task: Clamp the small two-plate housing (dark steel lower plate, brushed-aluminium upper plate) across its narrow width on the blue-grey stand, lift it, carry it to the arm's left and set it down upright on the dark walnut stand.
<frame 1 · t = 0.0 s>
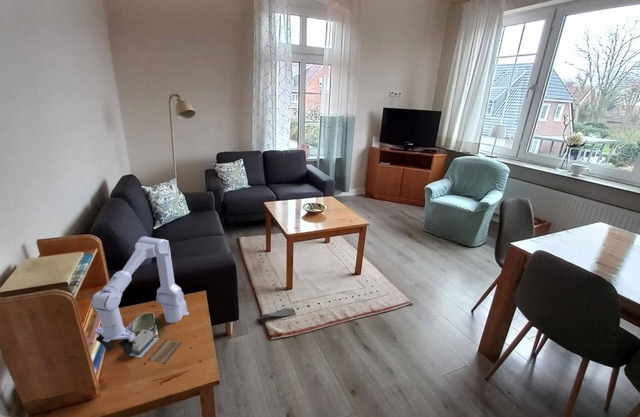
hand: (120, 351, 110), 10 cm above the table, fingers open, 7 cm apart
stone block: (138, 331, 133), on the table
bluegrey stand: (143, 349, 124), on the table
walnut stand: (166, 354, 122), on the table
housing: (142, 346, 123), point 1 cm above the table, touching bluegrey stand
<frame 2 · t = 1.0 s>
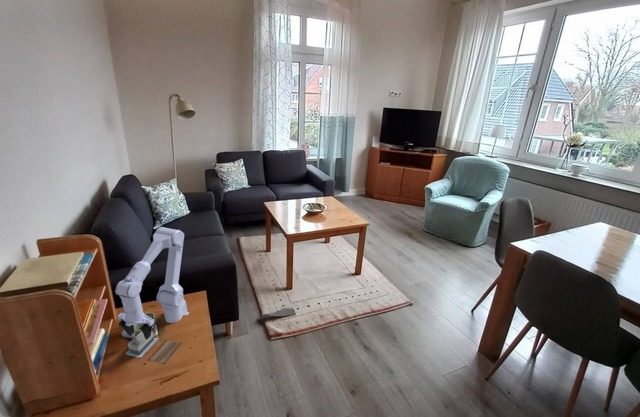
hand: (139, 335, 121), 7 cm above the table, fingers open, 7 cm apart
nothing on the table moved.
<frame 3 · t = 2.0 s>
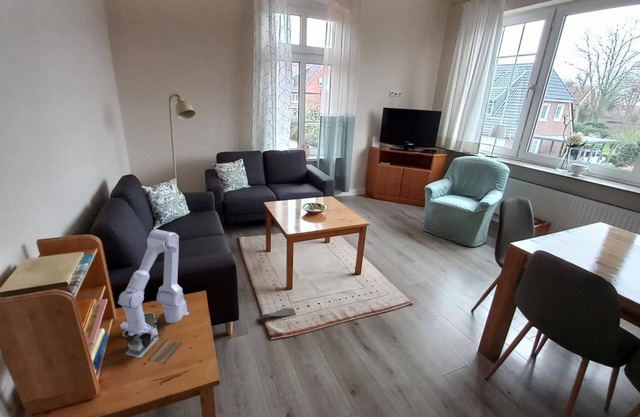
hand: (142, 344, 123), 2 cm above the table, fingers closed on housing, 4 cm apart
housing: (142, 346, 123), point 1 cm above the table, touching bluegrey stand, gripper
everything else where it was.
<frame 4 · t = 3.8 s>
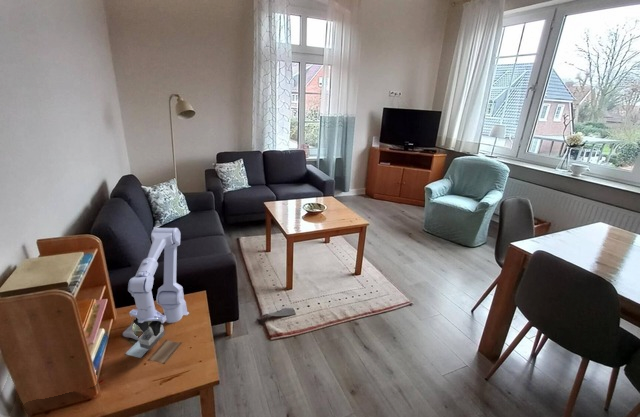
hand: (151, 332, 119), 10 cm above the table, fingers closed on housing, 4 cm apart
housing: (153, 340, 120), point 6 cm above the table, touching gripper
when the fingers open (6 cm above the table, at t = 5.2 s): housing stays where it is, resting on walnut stand.
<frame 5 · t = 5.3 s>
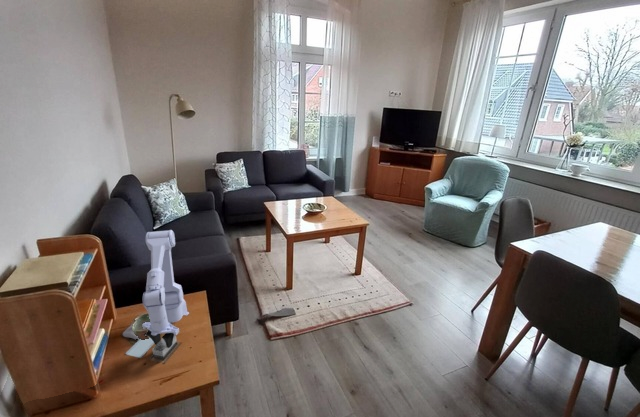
hand: (164, 344, 120), 5 cm above the table, fingers open, 5 cm apart
housing: (166, 351, 121), point 1 cm above the table, touching gripper, walnut stand
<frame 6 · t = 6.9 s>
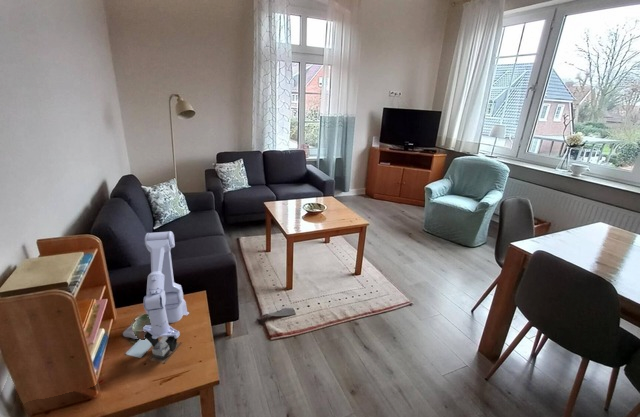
hand: (164, 347, 120), 3 cm above the table, fingers open, 7 cm apart
housing: (165, 350, 121), point 1 cm above the table, touching walnut stand
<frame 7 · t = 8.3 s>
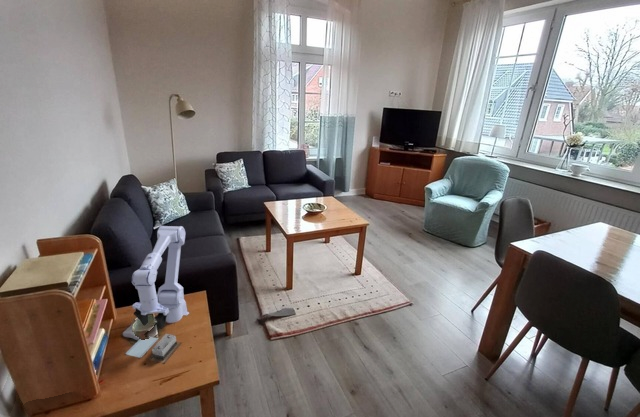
hand: (154, 325, 122), 10 cm above the table, fingers open, 7 cm apart
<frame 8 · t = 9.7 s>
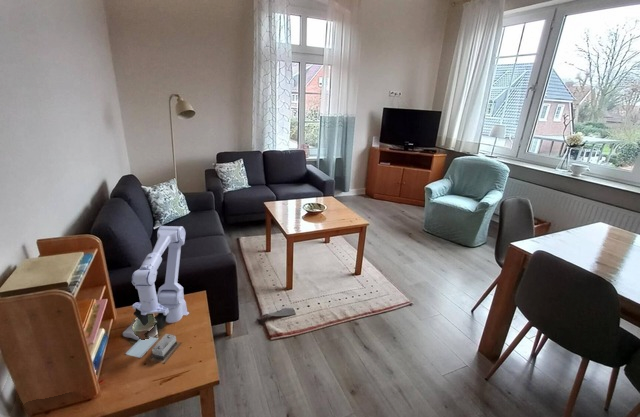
hand: (154, 325, 122), 10 cm above the table, fingers open, 7 cm apart
at the end: housing 0.1 cm off-centre on the walnut stand, point 1.5 cm above the walnut stand's base; housing tilted 0°; the gripper is holding nothing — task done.
